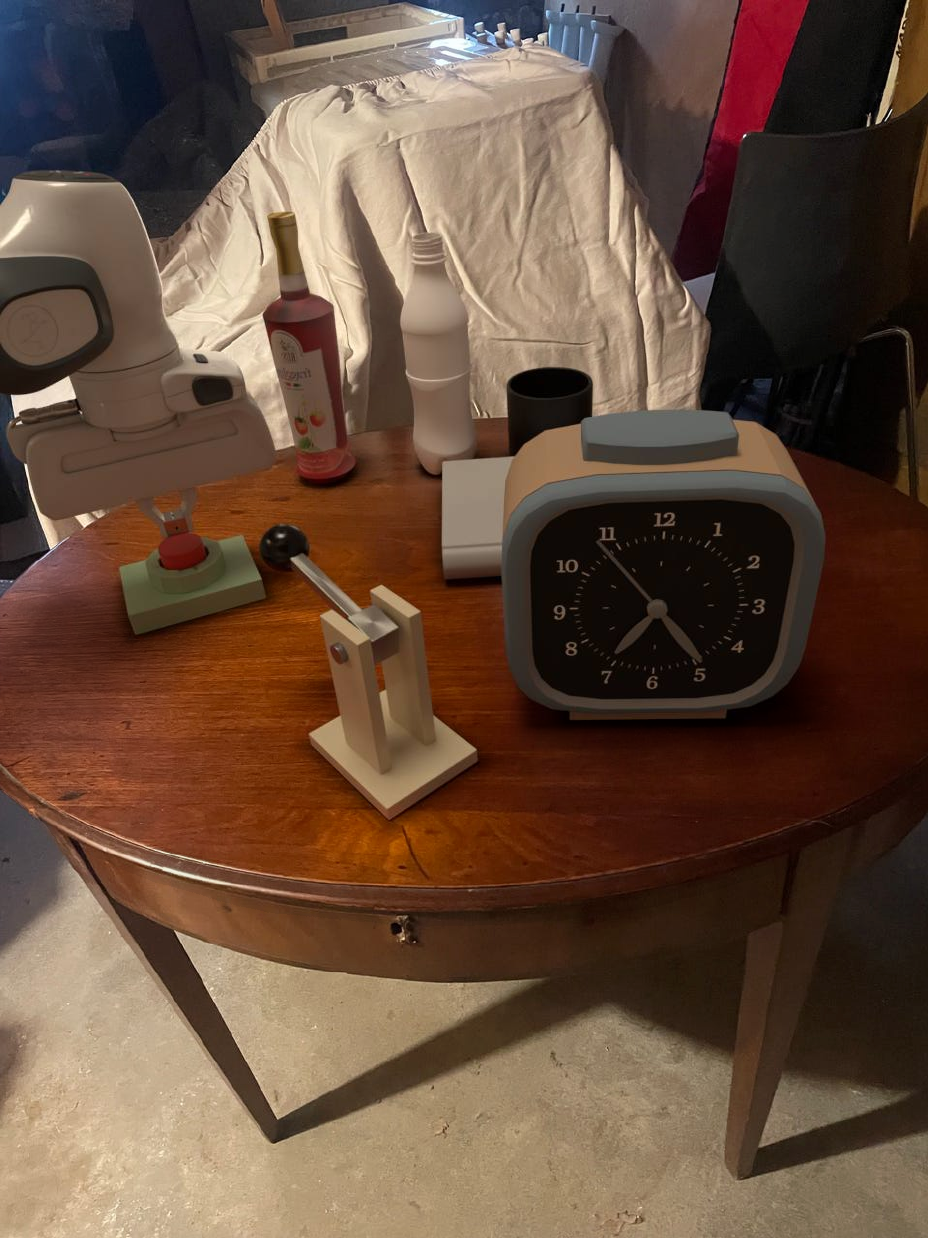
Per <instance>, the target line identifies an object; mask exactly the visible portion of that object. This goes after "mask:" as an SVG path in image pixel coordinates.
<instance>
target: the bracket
mask: <svg viewBox="0 0 928 1238" xmlns="http://www.w3.org/2000/svg"><path fill="white" fill-rule="evenodd" d="M369 593H370V600H371V605H373V604H375V605H376V606H377V607H378V608H379V609H380V610H381V611H382V612H383V613H384V614H385V615H386V616H387V617H389V618H390V619H391V620H392V621H393V622H394V623H395V624H396V625H397V626H398V627H399V652H398V653H397V654H395V655H393V656H391V657H389V658H388V659H386V660H384V661H382V662H381V668H382V669H381V670H382V674H383V680H384V686H385V687H384V688H385V689H383V690H382V691H380V689H379V683H378V676H377V671H376V665H375V664H374V658H373V652H372V646H371V640H370V638H369V637H368V636H367V635H365V634H364V633H363V632H361V631H360V630H359V629H357V628H356V627H355V626H353V625H352V624H351V623H349V622H348V621H347V620H346V619H344V618H343V617H342V616H340V615H339V614H338V613H336V612H335V611H334V610H333V609H330V610H328V611H325V612H323V613H322V614H320V615H319V619H320V624H321V628H322V633H323V638H324V644H325V648H326V652H327V657H328V662H329V666H330V672H331V676H332V681H333V686H334V692H335V695H336V696H335V697H336V700H337V706H338V709H339V716H337V717H335V718H333V719H332V720H329V722H326V723H325V724H323V725H322V726H321V725H320V726H319V727H318V728H316V729H314V730H312V731H311V732H309V733H308V738H309V741H310V745H311V746H312V748H314V749H315V750H316V751H317V752H318V753H319V754H320V755H321V756H322V757H323V758H324V759H325V760H326V761H327V762H329V764H330V765H331V766H332V767H333V768H335V770H337V771H338V772H339V774H341V776H343V778H345V779H346V780H347V781H348V782H349V784H351V785H352V786H353V787H354V788H355V789H356V790H357V791H358V793H360V794H361V795H362V796H363V797H364V798H365V799H366V800H367V801H368V802H370V804H372V805H373V806H374V808H376V809H377V810H378V811H379V812H380V813H381V814H382V815H383V817H385V818H386V819H387V820H388V821H390V820H392V819H393V818H395V817H396V816H398V815H399V814H401V813H402V812H404V811H405V810H407V809H409V808H410V807H412V806H413V805H415V804H416V803H417V802H418V801H420V800H422V799H424V798H425V797H426V796H428V795H429V794H431V793H433V792H434V791H435V790H437V789H438V788H440V787H442V786H443V785H444V784H446V783H447V782H449V781H450V780H452V779H454V778H455V777H456V776H458V775H459V774H461V773H462V772H464V771H466V769H469V768H470V767H471V766H473V765H474V764H476V763H477V762H479V759H478V750H477V748H476V747H474V746H473V745H472V744H470V743H469V742H468V741H466V739H464V738H463V737H461V735H459V734H457V732H455V731H454V730H453V729H452V728H450V727H449V726H447V724H445V723H444V721H443V722H442V721H441V720H440V719H439V718H437V717H436V716H435V715H434V711H433V710H434V709H433V701H432V694H431V693H432V692H431V684H430V678H429V676H430V675H429V670H428V669H429V668H428V661H427V654H426V653H427V652H426V645H425V636H424V627H423V620H422V619H423V618H422V611H421V610H420V609H418V608H416V607H415V606H414V605H412V604H410V602H408V601H406V600H405V599H403V598H402V597H400V596H399V595H398V594H396V593H394V592H393V591H391V589H389V588H387V587H386V586H384V584H380V585H378V586H376V587H374V588H372V589H370V590H369Z"/></svg>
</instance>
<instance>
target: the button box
mask: <svg viewBox="0 0 928 1238" xmlns="http://www.w3.org/2000/svg"><path fill="white" fill-rule="evenodd" d="M200 537H201V536H200ZM201 538H202V541H203V544H204V548H205V551H206V559H205V561H203V562H201V563H200V564H198V565H196V566H195V567H192V568H188V569H184V570H167V569H165V568H164V567H163V564H162V561H161V558H160V555H159V552H158V548H156V549H154V550H153V551H151V553H150V554H149V556H148V557H147V558H146V559H144V560H140V561H135V562H132V563H128V564H125V565H120V566H119V567H118V570H119V575H120V580H121V585H122V591H123V596H124V601H125V606H126V611H127V615H128V616H127V617H128V619H129V622H130V625H131V627H132V630H133V632H134V635H135V636H138V635H141V634H145V633H149V632H151V631H155V630H159V629H162V628H166V627H169V626H173V625H177V624H181V623H183V622H186V621H191V620H194V619H198V618H202V617H205V616H208V615H212V614H215V613H219V612H223V611H226V610H230V609H233V608H236V607H240V606H244V605H247V604H250V603H255V602H259V601H261V600H266V599H267V595H266V591H265V587H264V583H263V579H262V576H261V574H260V572H259V570H258V568H257V565H256V563H255V560H254V558H253V556H252V553H251V551H250V549H249V547H248V545H247V542H246V540H245V538H244V535H243V534H240V535H235V536H233V537H229V538H225V539H220V540H214V539H211V538H209V537H206V536H202V537H201Z"/></svg>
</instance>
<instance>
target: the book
mask: <svg viewBox="0 0 928 1238" xmlns="http://www.w3.org/2000/svg"><path fill="white" fill-rule="evenodd" d="M514 457H515V456H514ZM514 457H509V456H501V457H489V458H488V457H485V458H473V459H471V460H457V461H443V462H442V472H441V475H442V476H441V477H442V478H441V479H442V480H441V557H442V570H443V576H444V577H443V578H444V580H462V579H476V578H477V579H478V578H493V577H502V573H501V559H502V535H503V512H504V493H505V480H506V477H507V474H508V471H509V468H510V465H511V462H512V460H513V458H514Z"/></svg>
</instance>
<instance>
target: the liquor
mask: <svg viewBox="0 0 928 1238" xmlns="http://www.w3.org/2000/svg"><path fill="white" fill-rule="evenodd" d="M266 217H267V222H268V228H269V233H270V237H271V239H272V242H273V245H274V248H275V251H276V262H277V273H278V283H279V295H280V297H278V298H276V299H275V300H273V301H272V302H270V303H269V305H268V306H267V307H266V308H265V310H264V311H263V312H262V319H263V323H264V327H265V331H266V335H267V340H268V343H269V344H268V345H269V348H270V352H271V356H272V360H273V365H274V368H275V371H276V375H277V379H278V383H279V386H280V390H281V394H282V397H283V402H284V406H285V411H286V414H287V418H288V422H289V427H290V431H291V435H292V439H293V443H294V449H295V453H296V457H297V463H296V465H295V472H296V473H297V475H299V476H300V477H303V479H306V480H308V481H309V482H310V483H313V484H318V485H327V484H333V483H336V482H338V481H341V480H342V479H344V478H345V477H346V476H347V474H348V473H349V472H350V471H351V470H352V469H353V468H354V467H355V465H356V459H355V457H354V456H353V455H352V453H351V449H350V441H349V435H348V434H349V433H348V427H347V419H346V411H345V410H346V409H345V401H344V393H343V384H342V382H343V381H342V370H341V361H340V360H341V359H340V349H339V341H338V333H337V326H336V324H337V323H336V317H335V316H336V315H335V306H334V304H333V303H331V302H330V301H329V300H327V299H325V298H324V297H323V296H321V295H319V294H314V293H311V291H310V288H309V284H308V280H307V276H306V272H305V267H304V263H303V260H302V256H301V253H300V249H299V229H298V223H297V217H296V213H295V212H294V211H278V212H274V213H270V214H268V215H267V216H266Z"/></svg>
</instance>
